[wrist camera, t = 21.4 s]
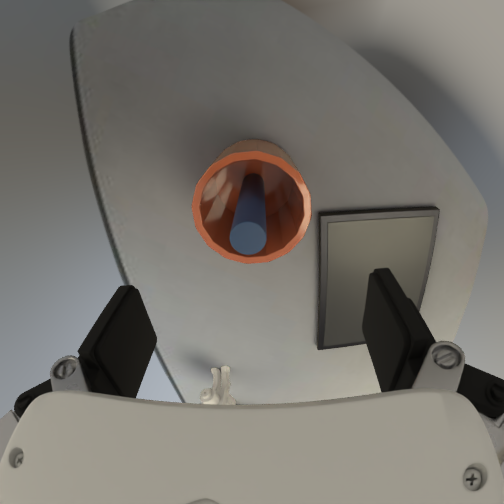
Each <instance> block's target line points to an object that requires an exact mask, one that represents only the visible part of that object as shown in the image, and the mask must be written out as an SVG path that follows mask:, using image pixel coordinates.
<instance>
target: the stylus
mask: <svg viewBox="0 0 504 504" xmlns="http://www.w3.org/2000/svg"><path fill="white" fill-rule="evenodd" d="M266 240H267V234H266V211H265V189H264V180H263V178H262V177H261V176H260V175H258V174H255V173H251V174H248V175H246V176H245V177H244V179H243V181H242V185H241V189H240V194H239V198H238V202H237V206H236V210H235V215H234V219H233V223H232V227H231V232H230V243H231V245H232V247H233V248H234V249H235V250H236V251H237V252H239V253H241V254H245V255H252V254H255V253H258V252H259V251H261V250H262V249H263V247H264V246H265V244H266Z"/></svg>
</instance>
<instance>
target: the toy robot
mask: <svg viewBox="0 0 504 504" xmlns="http://www.w3.org/2000/svg"><path fill="white" fill-rule="evenodd" d="M211 372H212V374H213V387H212V389H211V388H208V389H204V390H202V392H201V394H200V399H201V401H202V404H218V405H236V400H235V399H234V398H233V397H232V396H231V395H230V394H229V389H230V385H231V383H230V380H229V372H230V367H228V366H221V373H220V370H219V369H218V368H211ZM221 380H222V387H221ZM220 388H221V389H220Z"/></svg>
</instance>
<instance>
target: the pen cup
mask: <svg viewBox="0 0 504 504" xmlns="http://www.w3.org/2000/svg"><path fill="white" fill-rule="evenodd" d="M251 173H255V174H258V175H260V176H261V177H262V178H263V180H264V189H265V211H266V234H267V240H266V244H265V246H264V247H263V249H262V250H261V251H259V252H258V253H255V254H252V255H245V254H241V253H239V252H237V251H236V250H235V249H234V248H233V247H232V245H231V243H230V232H231V227H232V223H233V219H234V215H235V210H236V206H237V202H238V198H239V194H240V189H241V185H242V181H243V179H244V177H245V176H246V175H248V174H251ZM192 212H193V217H194V222H195V227H196V229H197V230H198V232H199V233H200V235H201V236H202V238H203V239H204V241H205V242H206V244H207V245H208V246H209V247H210V248H212V249H213V250H215V251H216V252H218V253H219V254H220V255H222V256H223V257H225V258H227V259H231V260H234V261H238V262H242V263H246V264H250V263H262V262H268V261H269V262H270V261H272V260H274V259H276V258H278V257H280V256H283V255H285V254H287V253H288V252H290V251H291V250H292V249H293V248H294V247H295V245H296V244H297V243H298V242H299V241H300V240H301V239H302V238H303V237H304V235H305V232H306V230H307V227H308V225H309V222H310V220H311V216H312V215H311V195H310V192H309V190H308V188H307V186H306V184H305V182H304V180H303V178H302V176H301V174H300V172H299V171H298V169H297V167H296V166H295V164H294V163H293V161H292V159H291V158H290V156H289V155H288V154H287V153H286V152H285V151H283V150H282V149H281V148H280V147H278V146H277V145H275V144H273V143H271V142H268V141H264V140H259V139H249V140H243V141H239V142H237V143H235V144H233V145H231V146H230V147H228V148H226V149H225V150H224V151H223V152H222V153H221V154H220V155H219V156H218V157H217V159H216V160H215V161H214V162H213V163H212V164H211V166H210V167H209V168H208V169H207V171H206V172H205V173H204V175H203V176H202V177H201V179H200V180H199V181H198V183H197V185H196V188H195V193H194V197H193V201H192Z"/></svg>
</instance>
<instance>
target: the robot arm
mask: <svg viewBox="0 0 504 504" xmlns="http://www.w3.org/2000/svg"><path fill="white" fill-rule="evenodd" d="M362 332H363V335H364V338H365V341H366V344H367V347H368V350H369V353H370V356H371V359H372V362H373V366H374V369H375V372H376V375H377V378H378V382H379V385H380V388H381V392H382V393H376V394H369V395H362V396H355V397H347V398H339V399H331V400H321V401H311V402H299V403H283V404H257V405H218V404H193V403H177V402H164V401H153V400H145V399H136V396H137V393H138V390H139V388H140V385H141V382H142V380H143V377H144V374H145V371H146V369H147V366H148V364H149V361H150V358H151V356H152V353H153V351H154V348H155V346H156V343H157V336H156V333H155V331H154V329H153V326H152V324H151V321H150V319H149V316H148V314H147V311H146V309H145V306H144V303H143V301H142V298H141V295H140V293H139V290H138V289H135V287H134V286H132V285H126V286H120V287H119V288H118V289H117V291H116V292H115V294H114V295H113V297H112V298H111V299H110V301H109V303H108V304H107V305H106V307H105V308H104V310H103V311H102V313H101V315H100V316H99V318H98V319H97V321H96V322H95V324H94V326H93V327H92V329H91V330H90V332H89V333H88V335H87V337H86V338H85V340H84V341H83V343H82V345H81V346H80V348H79V350H78V353H79V357H78V358H76V357H75V356H65V357H62V358H60V359H59V360H58V361H56V362H55V363H54V365H53V366H52V368H51V371H50V377H51V379H49V380H47V381H45V382H43V383H41V384H39V385H38V386H36V387H33V388H32V389H30V390H28V391H26V392H24V393H22V394H21V395H20V396H19V397H18V399H17V400H16V402H15V405H14V410H15V411H14V412H13V411H12V410H10V411H9V412H8V413H7V414H6V415H5V416H4V417H3V418H1V419H0V504H504V380H503V379H501V378H498V377H496V376H493V375H491V374H489V373H486V372H484V371H481V370H479V369H477V368H475V367H472V366H470V365H467V364H465V355H464V352H463V351H462V349H461V348H460V347H459V346H458V345H456V344H454V343H452V342H448V341H439V342H436V341H435V339H434V337H433V336H432V334H431V332H430V330H429V328H428V327H427V325H426V323H425V321H424V320H423V318H422V316H421V314H420V313H419V311H418V309H417V308H416V306H415V304H414V303H413V301H412V300H411V298H407V296H406V295H405V293H404V291H403V290H402V288H401V286H400V285H399V283H398V282H397V280H396V278H395V277H394V275H393V274H392V272H391V270H390V269H389V268H378V269H374V271H373V273H370V274H369V280H368V288H367V295H366V303H365V309H364V316H363V322H362Z"/></svg>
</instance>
